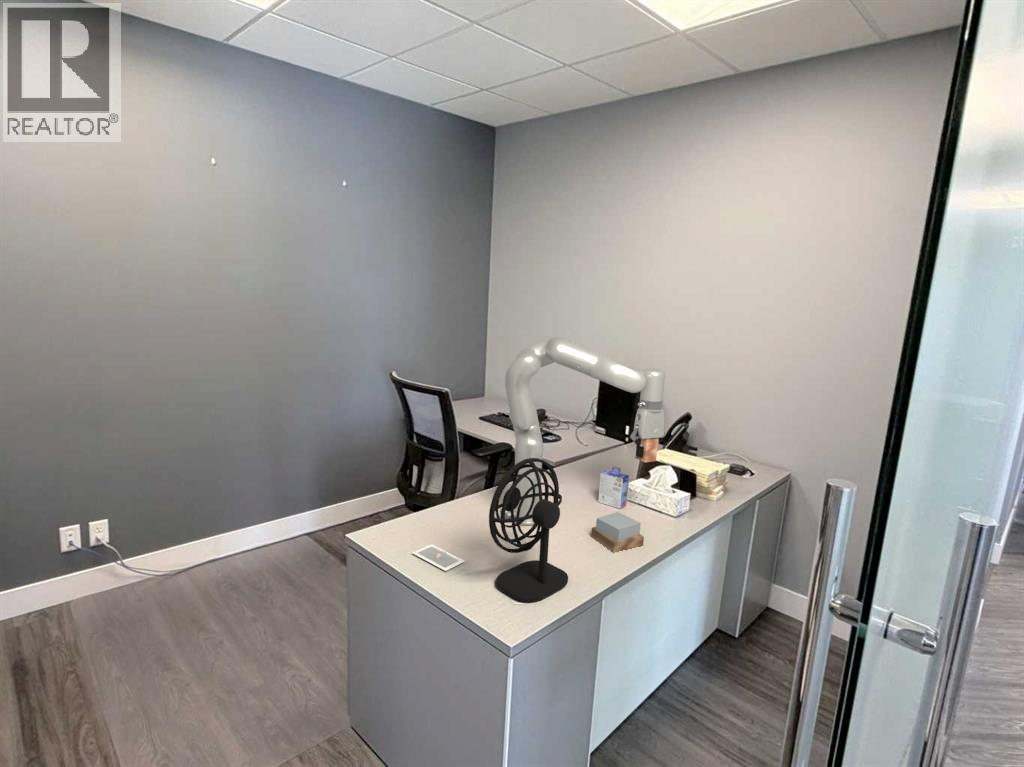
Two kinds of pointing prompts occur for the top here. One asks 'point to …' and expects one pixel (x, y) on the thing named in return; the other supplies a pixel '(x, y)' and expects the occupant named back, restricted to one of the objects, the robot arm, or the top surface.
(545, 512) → the desk fan
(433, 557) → the touchpad
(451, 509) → the top surface
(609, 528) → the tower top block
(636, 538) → the tower base block
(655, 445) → the terracotta block
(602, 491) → the ink cartridge box
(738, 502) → the top surface
